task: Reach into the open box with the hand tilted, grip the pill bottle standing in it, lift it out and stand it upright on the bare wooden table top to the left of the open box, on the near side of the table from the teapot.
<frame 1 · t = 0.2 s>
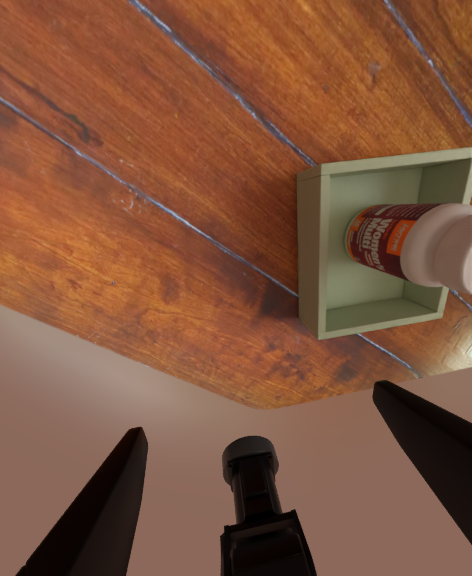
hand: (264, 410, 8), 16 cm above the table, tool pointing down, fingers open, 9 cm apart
open box: (357, 245, 24), on the table
pill bottle: (368, 235, 24), resting on open box
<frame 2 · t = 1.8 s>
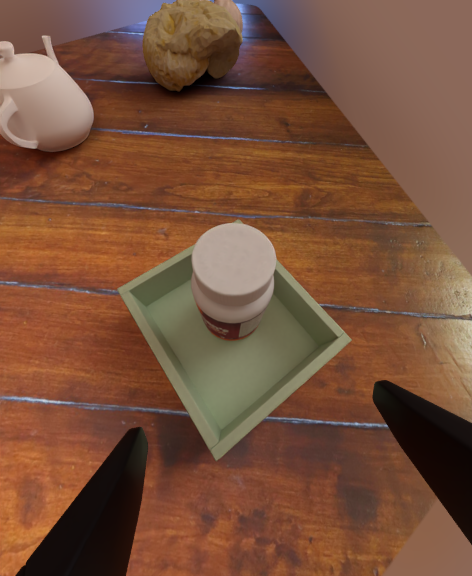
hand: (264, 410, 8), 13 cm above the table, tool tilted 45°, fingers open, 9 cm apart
seashell: (195, 82, 43), on the table
open box: (230, 327, 23), on the table
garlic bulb: (227, 45, 49), on the table
teapot: (63, 132, 36), on the table
pill bottle: (232, 313, 24), resting on open box
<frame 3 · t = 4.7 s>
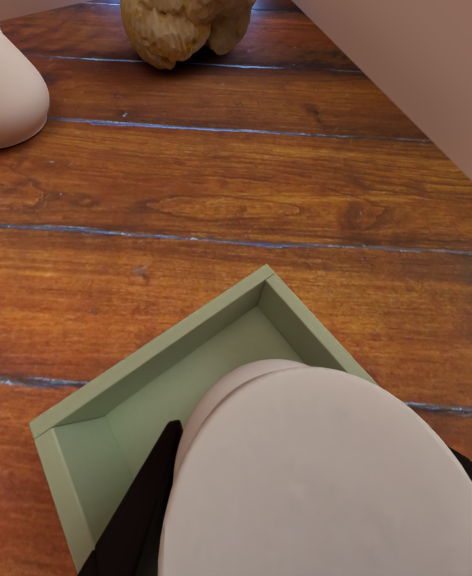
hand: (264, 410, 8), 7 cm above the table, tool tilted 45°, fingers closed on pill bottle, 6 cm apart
seashell: (193, 59, 33), on the table
open box: (251, 452, 13), on the table
teapot: (9, 123, 26), on the table
pill bottle: (254, 426, 14), resting on open box, touching gripper
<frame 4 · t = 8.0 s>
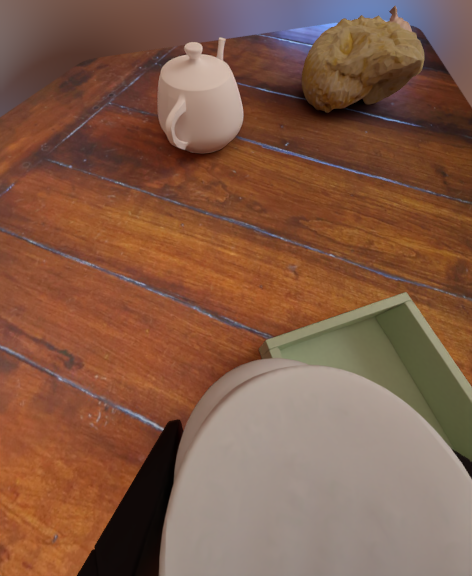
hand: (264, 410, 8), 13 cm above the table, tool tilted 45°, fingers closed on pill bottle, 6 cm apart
seashell: (343, 104, 40), on the table
open box: (357, 407, 20), on the table
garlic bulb: (381, 68, 45), on the table
teapot: (204, 134, 36), on the table
pill bottle: (254, 425, 14), point 7 cm above the table, touching gripper
when the fingers open (6 cm above the table, at t = 11.2 s): pill bottle stays where it is, on the table.
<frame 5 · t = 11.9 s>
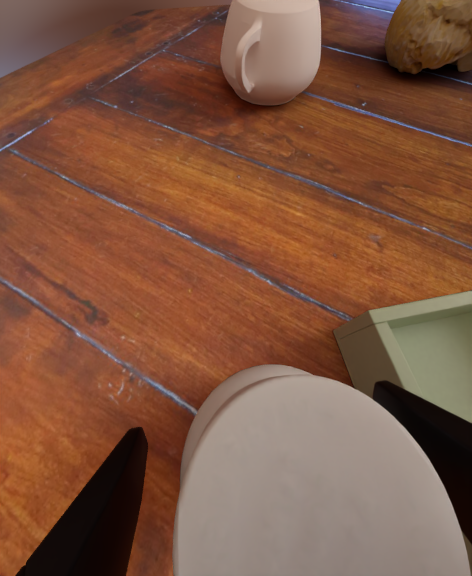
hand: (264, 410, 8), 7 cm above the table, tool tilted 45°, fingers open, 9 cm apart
seashell: (430, 69, 34), on the table
teapot: (267, 87, 31), on the table
pill bottle: (254, 425, 14), on the table
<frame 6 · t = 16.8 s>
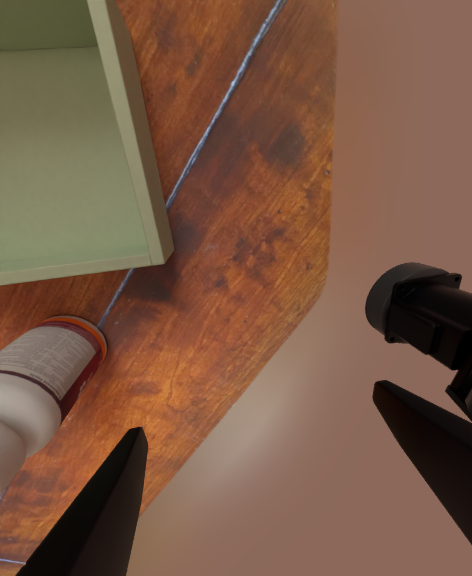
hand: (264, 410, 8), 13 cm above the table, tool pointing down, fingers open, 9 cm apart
open box: (42, 168, 15), on the table
pill bottle: (74, 341, 20), on the table
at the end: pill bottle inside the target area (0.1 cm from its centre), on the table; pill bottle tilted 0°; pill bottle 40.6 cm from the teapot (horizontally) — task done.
